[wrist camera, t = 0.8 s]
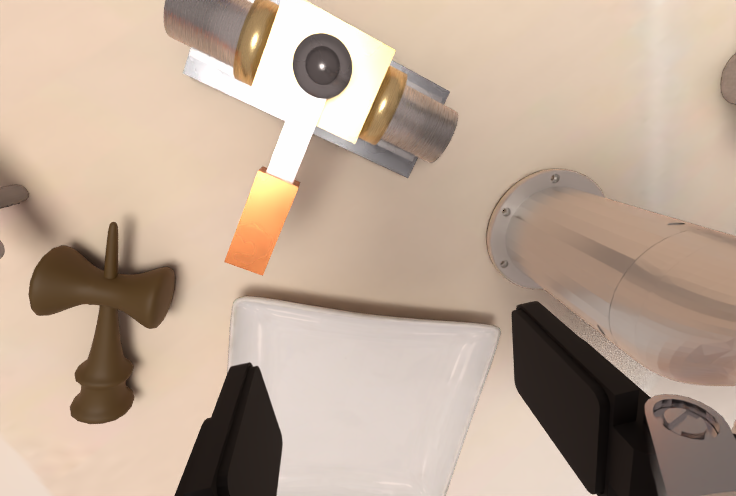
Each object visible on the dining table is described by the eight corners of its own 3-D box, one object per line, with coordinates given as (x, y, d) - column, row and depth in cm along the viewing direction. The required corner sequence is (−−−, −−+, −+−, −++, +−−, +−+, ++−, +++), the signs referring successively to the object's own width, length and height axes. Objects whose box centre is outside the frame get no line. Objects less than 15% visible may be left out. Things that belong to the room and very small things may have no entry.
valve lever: (306, 27, 21) (305, 18, 19) (359, 55, 22) (363, 49, 20) (224, 249, 24) (216, 261, 22) (272, 266, 25) (268, 279, 23)
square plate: (431, 490, 51) (440, 519, 47) (219, 481, 46) (210, 513, 42) (491, 312, 42) (507, 331, 39) (239, 280, 38) (231, 297, 34)
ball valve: (444, 92, 33) (500, 82, 23) (404, 175, 35) (439, 201, 25) (220, -29, 29) (162, -112, 18) (189, 75, 31) (120, 55, 20)
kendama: (66, 381, 39) (69, 199, 33) (165, 392, 41) (186, 223, 35) (26, 427, 34) (20, 219, 27) (142, 437, 36) (162, 247, 29)
